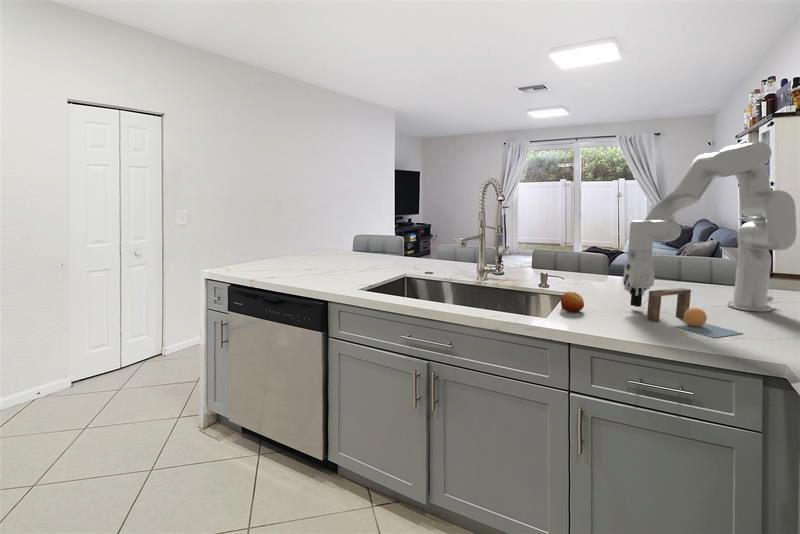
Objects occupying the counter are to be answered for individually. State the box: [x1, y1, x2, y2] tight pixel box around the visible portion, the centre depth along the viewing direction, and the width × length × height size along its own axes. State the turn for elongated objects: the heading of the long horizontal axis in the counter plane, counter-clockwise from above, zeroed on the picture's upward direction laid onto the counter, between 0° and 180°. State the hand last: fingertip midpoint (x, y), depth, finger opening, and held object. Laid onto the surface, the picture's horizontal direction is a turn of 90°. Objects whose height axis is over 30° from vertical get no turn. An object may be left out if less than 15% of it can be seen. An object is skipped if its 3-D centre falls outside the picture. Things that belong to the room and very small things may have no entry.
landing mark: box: [675, 322, 744, 339], centre depth 136 cm, size 12×12×1 cm
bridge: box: [646, 287, 692, 323], centre depth 148 cm, size 3×15×10 cm, turn 110°
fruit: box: [559, 291, 585, 314], centre depth 159 cm, size 8×8×8 cm
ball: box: [683, 307, 708, 327], centre depth 139 cm, size 6×6×6 cm
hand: (635, 305), depth 161 cm, fingers closed
